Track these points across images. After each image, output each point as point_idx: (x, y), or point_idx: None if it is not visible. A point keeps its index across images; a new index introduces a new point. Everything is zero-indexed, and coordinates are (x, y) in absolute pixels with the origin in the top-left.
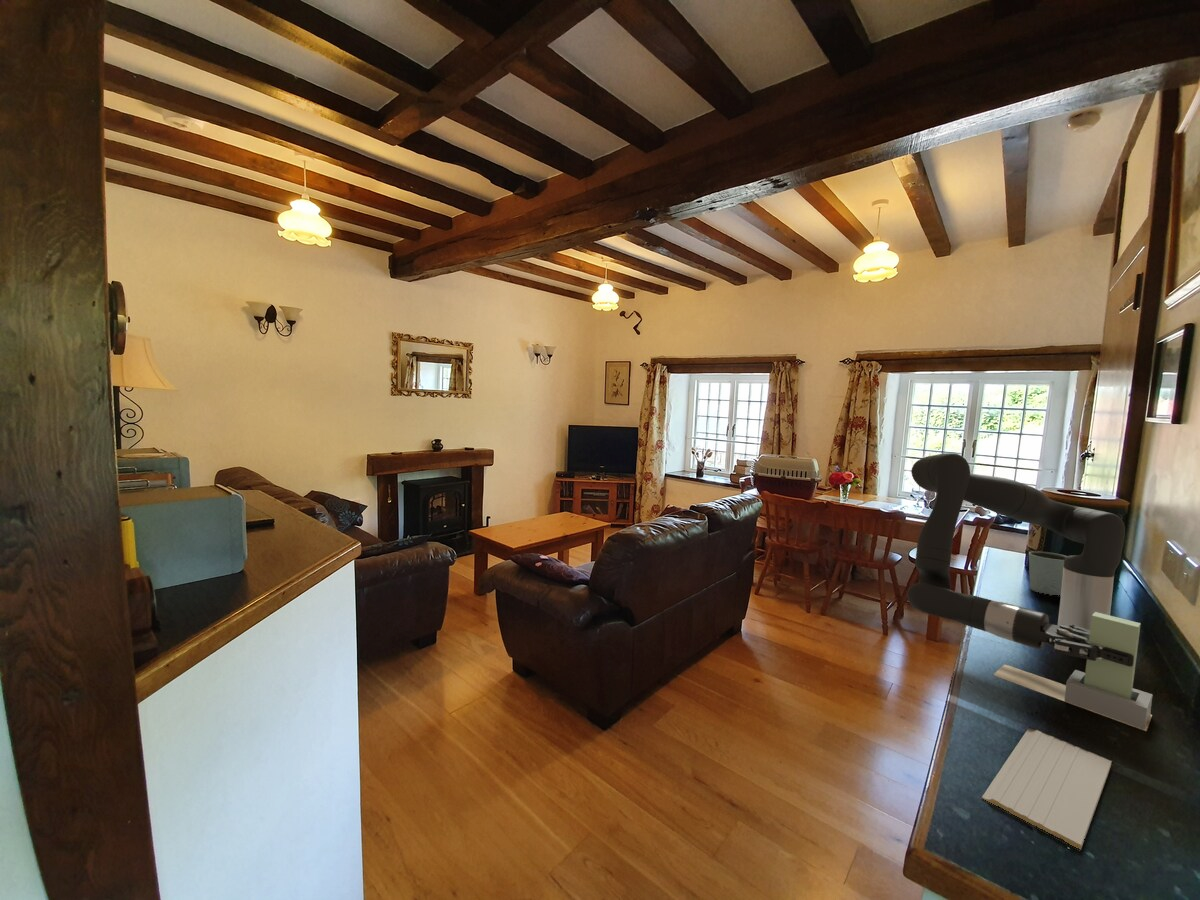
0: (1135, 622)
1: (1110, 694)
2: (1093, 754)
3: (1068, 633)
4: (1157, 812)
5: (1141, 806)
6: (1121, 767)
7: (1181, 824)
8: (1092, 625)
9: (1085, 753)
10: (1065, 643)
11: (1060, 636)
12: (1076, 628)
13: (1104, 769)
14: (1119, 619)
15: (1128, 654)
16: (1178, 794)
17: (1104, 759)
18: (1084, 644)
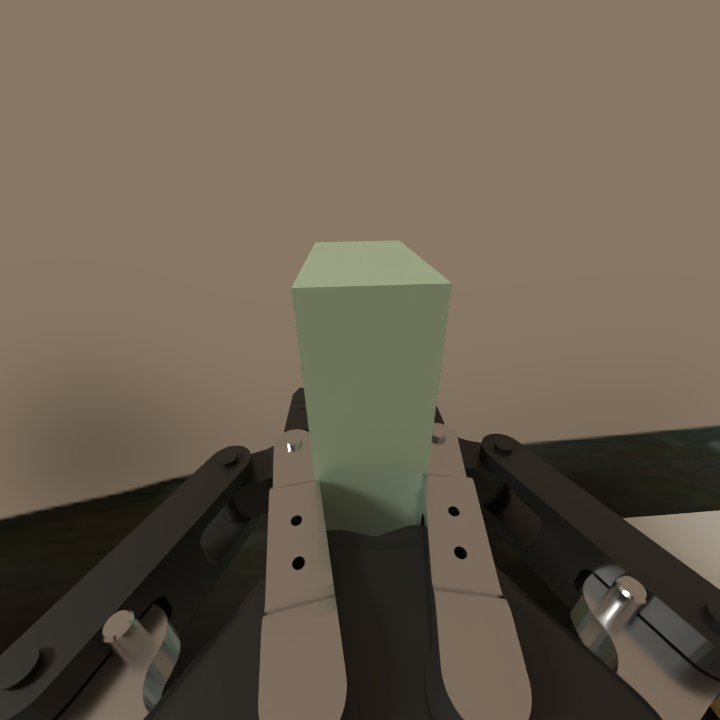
0: (324, 244)
1: None
2: (693, 546)
3: (485, 584)
4: (681, 456)
5: (703, 469)
6: (625, 510)
7: (661, 437)
8: (440, 365)
9: (717, 560)
10: (677, 568)
11: (577, 659)
12: (135, 615)
13: (716, 516)
14: (344, 254)
15: None
16: (581, 448)
17: (675, 526)
18: (523, 478)
